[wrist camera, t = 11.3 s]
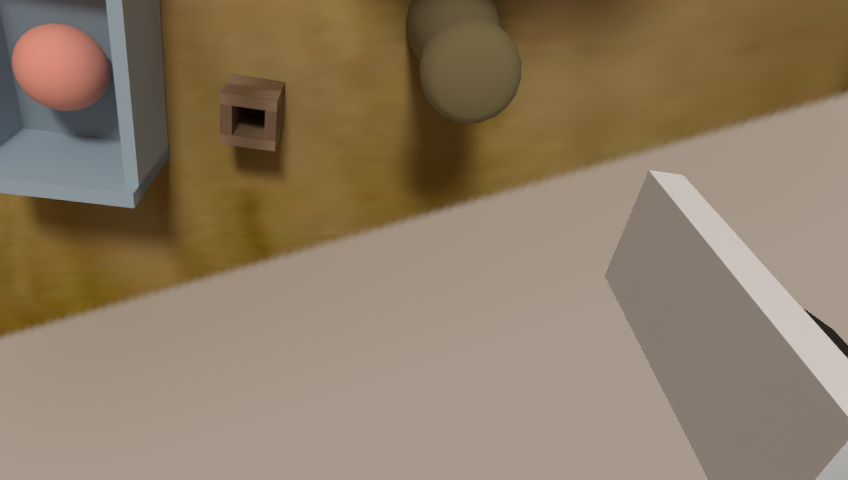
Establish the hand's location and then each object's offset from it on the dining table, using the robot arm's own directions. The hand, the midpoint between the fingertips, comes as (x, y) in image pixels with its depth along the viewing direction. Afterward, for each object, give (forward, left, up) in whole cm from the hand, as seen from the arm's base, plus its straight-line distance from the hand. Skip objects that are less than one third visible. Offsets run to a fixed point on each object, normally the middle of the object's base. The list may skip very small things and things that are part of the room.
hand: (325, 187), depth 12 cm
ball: (+17, +8, -26) cm, 32 cm away
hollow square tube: (+6, +10, -29) cm, 31 cm away
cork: (-6, +3, -29) cm, 30 cm away
